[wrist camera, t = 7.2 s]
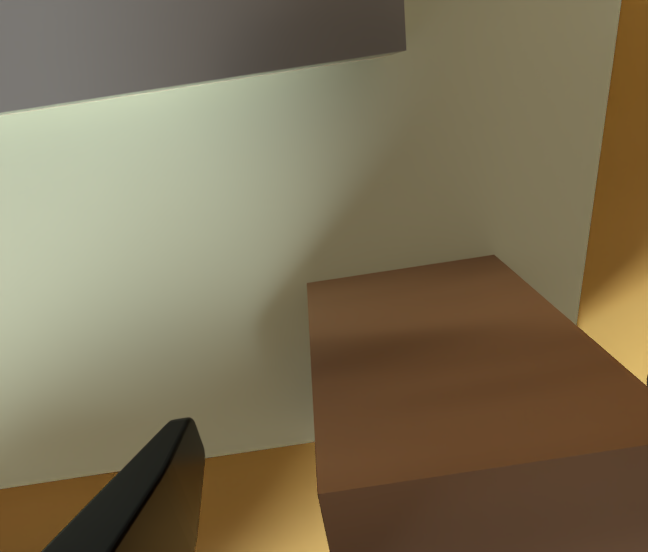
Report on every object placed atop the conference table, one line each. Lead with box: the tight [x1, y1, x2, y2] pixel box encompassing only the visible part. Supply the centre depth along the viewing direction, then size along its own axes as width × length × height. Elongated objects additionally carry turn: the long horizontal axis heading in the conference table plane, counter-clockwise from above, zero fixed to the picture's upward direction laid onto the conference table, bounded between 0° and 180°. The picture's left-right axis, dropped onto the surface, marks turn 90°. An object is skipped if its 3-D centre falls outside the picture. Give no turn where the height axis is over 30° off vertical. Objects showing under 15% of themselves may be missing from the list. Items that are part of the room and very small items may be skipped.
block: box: [307, 255, 648, 552], centre depth 7 cm, size 4×4×5 cm
